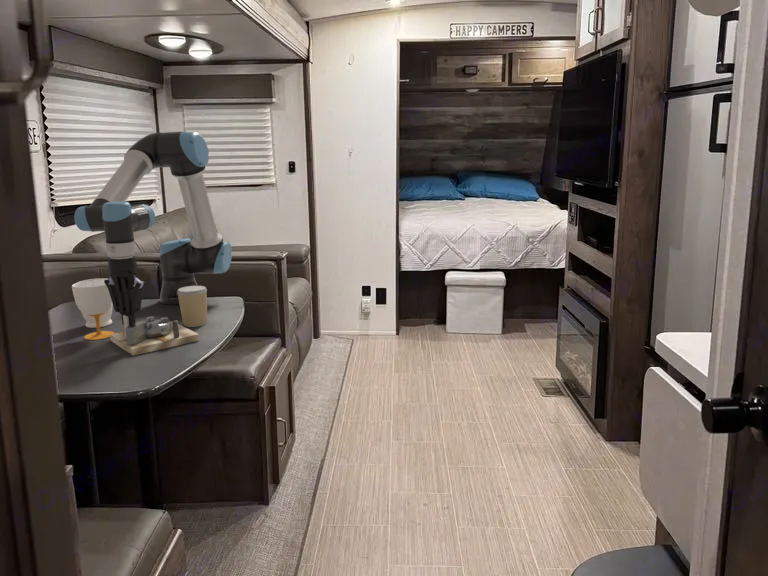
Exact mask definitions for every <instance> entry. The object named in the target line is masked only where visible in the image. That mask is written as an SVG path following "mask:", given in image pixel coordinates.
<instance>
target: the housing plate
mask: <svg viewBox="0 0 768 576" xmlns="http://www.w3.org/2000/svg"><path fill="white" fill-rule="evenodd" d="M170 326H171V333H169V334H167V335H165V336H161V337H156V338H147V339H145V340H143V341H141V342H139V343H137V344H135V345H133V344H127V338H126V337H125V330H124V331H120V332H116V333H115V332H114V334H110V337H109V339H110V341H111V342H112V343H114V344H115V345H116V346H118V347H120V348H122V350H124V351H125V352H127V353H129V355H131V356H132V357H133V356H139V355H141V354H142V355H143V354H146V353H151V352H155V351H159V350H160V351H161V350H164V349H168V348H172V347H177V346H181V345H185V344H190V343H193V342H198V341H200V334H199V333H198V332H196V331H193V330H192V329H189V328H188V327H186V326H184V325H181V324H179V320H172V321H170Z"/></svg>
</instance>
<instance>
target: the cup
mask: <svg viewBox="0 0 768 576" xmlns="http://www.w3.org/2000/svg"><path fill="white" fill-rule="evenodd" d="M88 280H89V279H88ZM82 281H83V282H80V281H78V283H77V282H76V283H73V284H72V285H71V289H72V294H73V295H72V296H73V298H74V302H75V304H76V307H77V308H78V309H79V311H80V312H81V314H82V313H83V314H86V315H89V316H94V317H95V320H96V327H97V328H96V332H95V331H94V332H91V333H88V334H86V335H84V337H83V339H84V340H86V341H99V340H106V339H110V334H114V333H115V331H111V330H101V327H100V323H99V316H100V315H102V314H104V313H106V312H107V311H108V310H109V309H110V308H111V306H112V304H113V303H112V300H111V297H110V294H109V291H108V288H107V286H106V284H105V283H104V281H105V280H103V279H100V280H89V281H84V280H82ZM112 307H113V306H112Z"/></svg>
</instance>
